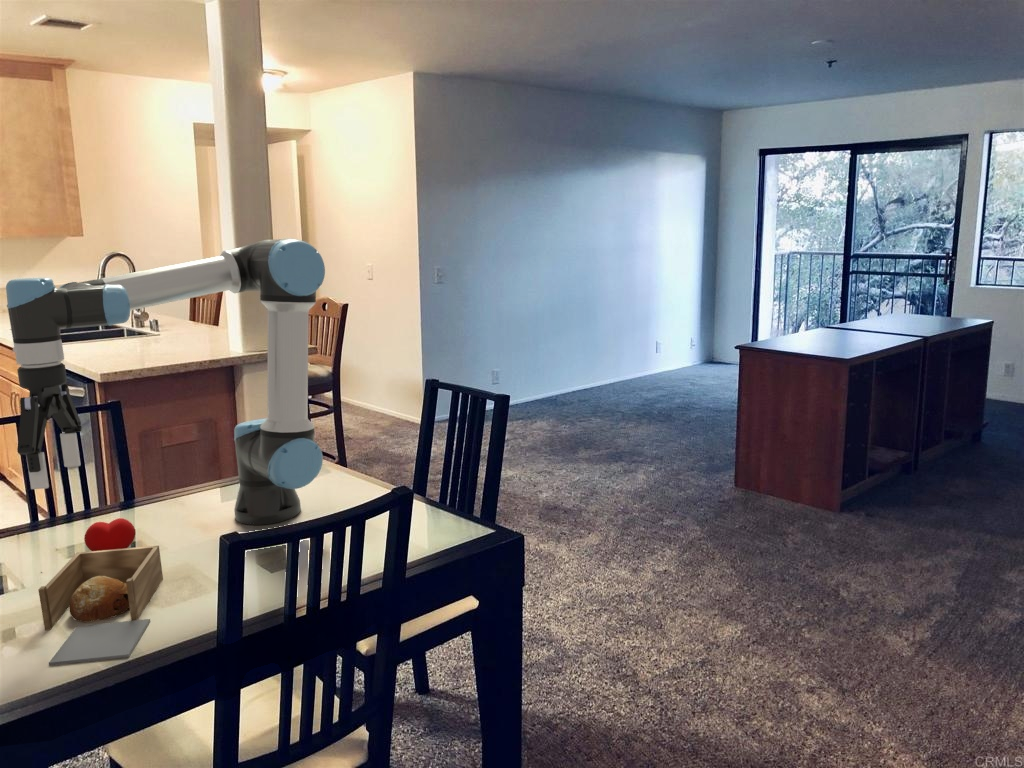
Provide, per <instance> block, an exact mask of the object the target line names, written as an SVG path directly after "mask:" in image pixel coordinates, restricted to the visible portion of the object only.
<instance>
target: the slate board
mask: <svg viewBox="0 0 1024 768" xmlns="http://www.w3.org/2000/svg"><path fill="white" fill-rule="evenodd" d="M150 623H151V618H144V619H137V620H133V621H131V620H126V621H125V620H123V621H115V622H114V621H113V622H106V623H95V624H84V625H82V624H81V625H76V627H75V628H74V629H73V631H71V633H70V635H69V636H68V637H67V638H66V640H65V641H64V642H63V643H62V645H61V646H60V647H59V649H58V650H57V651H56V653H55V654H54V655H53V656H52V657H51V659H50V660H49V661H48V666H59V665H69V664H78V663H86V662H95V661H104V660H105V661H106V660H113V659H114V660H115V659H116V660H117V659H122V658H123V659H124V658H130V656H131V655H132V653H133V651H134V650H135V648H136V646H137V644H138V643H139V641H140V640H141V638H142V636H143V634H144V633H145V631H146V630H147V628H148V626H149V625H150Z"/></svg>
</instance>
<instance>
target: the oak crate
mask: <svg viewBox="0 0 1024 768" xmlns="http://www.w3.org/2000/svg"><path fill="white" fill-rule="evenodd" d="M96 576H107V577H110V578H114V579H118V580H120V581H121V582H123V583H126V586H127V593H128V600H129V612H130V613H129V614H130V621H133V620H139V617H141V615H142V613H143V611H144V610H145V608H146V607H147V605H148V604H149V602H150V600H151V599H152V597H154V596H153V595H155V592H156V591H157V590H158V587H160V584H161V583H162V581H163V580H164V574H163V567H162V560H161V552H160V545H151V546H150V545H149V546H141V547H140V546H138V547H137V546H136V547H127V548H125V549H113V550H102V551H91V550H89V551H81V552H76V553H75V554H74V555H73V556H72V557H71V558H70V560H68V562H66V564H65V565H64V566H63V567H62V568H61V569H59V571H58V572H57V573H56V574H55V575H54V576H53V577H52V579H50V580H49V582H48V583H46V584H45V585H43V586H40V587H39V588H38V595H39V601H40V602H39V603H40V609H41V616H42V620H43V628H44V631H50V630H51V629H52V628H53V627H54V626H55V624H56V623H57V622H58V621H59V619H61V617H62V616H63V615H64V613H66V611H67V610H68V608H69V604H70V599H71V597H72V595H73V593H74V592H75V591H76V590H77V589H78V587H79V586H81V585H82V584H83V583H84V582H86V581H87V580H89V579H91V578H93V577H96Z"/></svg>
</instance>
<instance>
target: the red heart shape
mask: <svg viewBox="0 0 1024 768" xmlns="http://www.w3.org/2000/svg"><path fill="white" fill-rule="evenodd" d="M86 529H87V530H86V531H85V534H84V538H83V539H84V543H85V546H86V548H87V549H88V550H89V551H102V550H113V549H125V548H130V547H129V546H131V545H132V544H133V542H134V540H135V538H136V532H137V531H136V528H135V526H134V524H133V523H132V522H131V521H130V520H128V519H126V518H121V517H120V518H115V519H113V520H111V521H110V522H109V523H108V522H106V521H105V522H104V521H98V522H94V523H93V524H91V525H89V527H88V528H86Z"/></svg>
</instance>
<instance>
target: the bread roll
mask: <svg viewBox="0 0 1024 768" xmlns="http://www.w3.org/2000/svg"><path fill="white" fill-rule="evenodd" d="M128 609H130V607H129V600H128V593H127V586H126V583H123V582H121V581H120V580H118V579H114V578H110V577H107V576H96V577H93V578H91V579H89V580H87V581H86V582H84V583H83V584H82V585H81V586H79V587H78V589H77V590H76V591H75V592H74V593H73V595H72V597H71V599H70V604H69V610H68V611H69V613H70V614H69V615H70V616H71V618H72V619H74V620H75V621H78V622H83V623H89V622H96V621H103V620H107V619H110V618H111V619H112V618H114V617H116V616H119V615H121V614H123V613H125V612H126V611H128Z"/></svg>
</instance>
